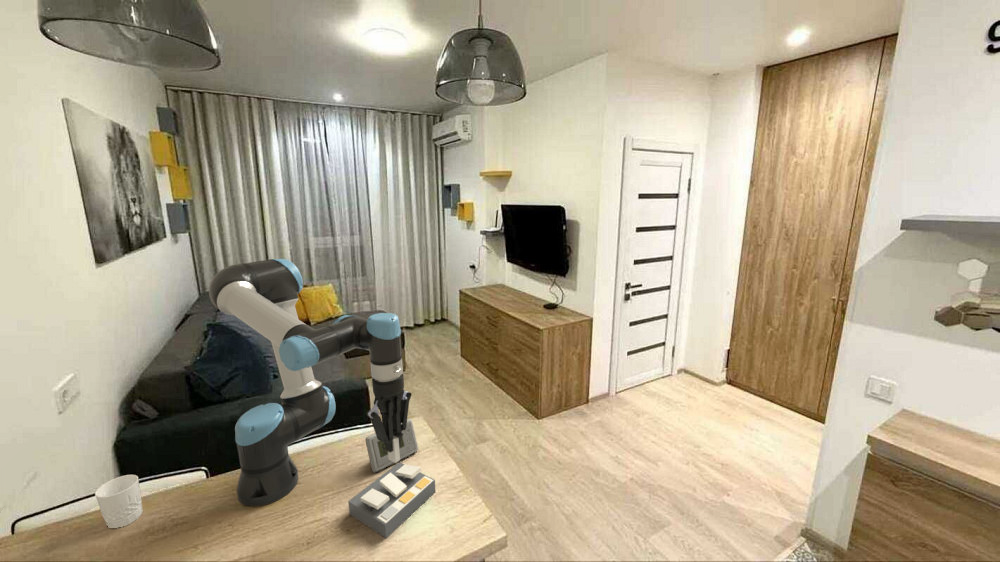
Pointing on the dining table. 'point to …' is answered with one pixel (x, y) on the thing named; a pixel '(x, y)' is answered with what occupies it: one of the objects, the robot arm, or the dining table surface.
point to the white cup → (120, 501)
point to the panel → (392, 502)
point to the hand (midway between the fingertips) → (394, 459)
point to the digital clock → (380, 454)
